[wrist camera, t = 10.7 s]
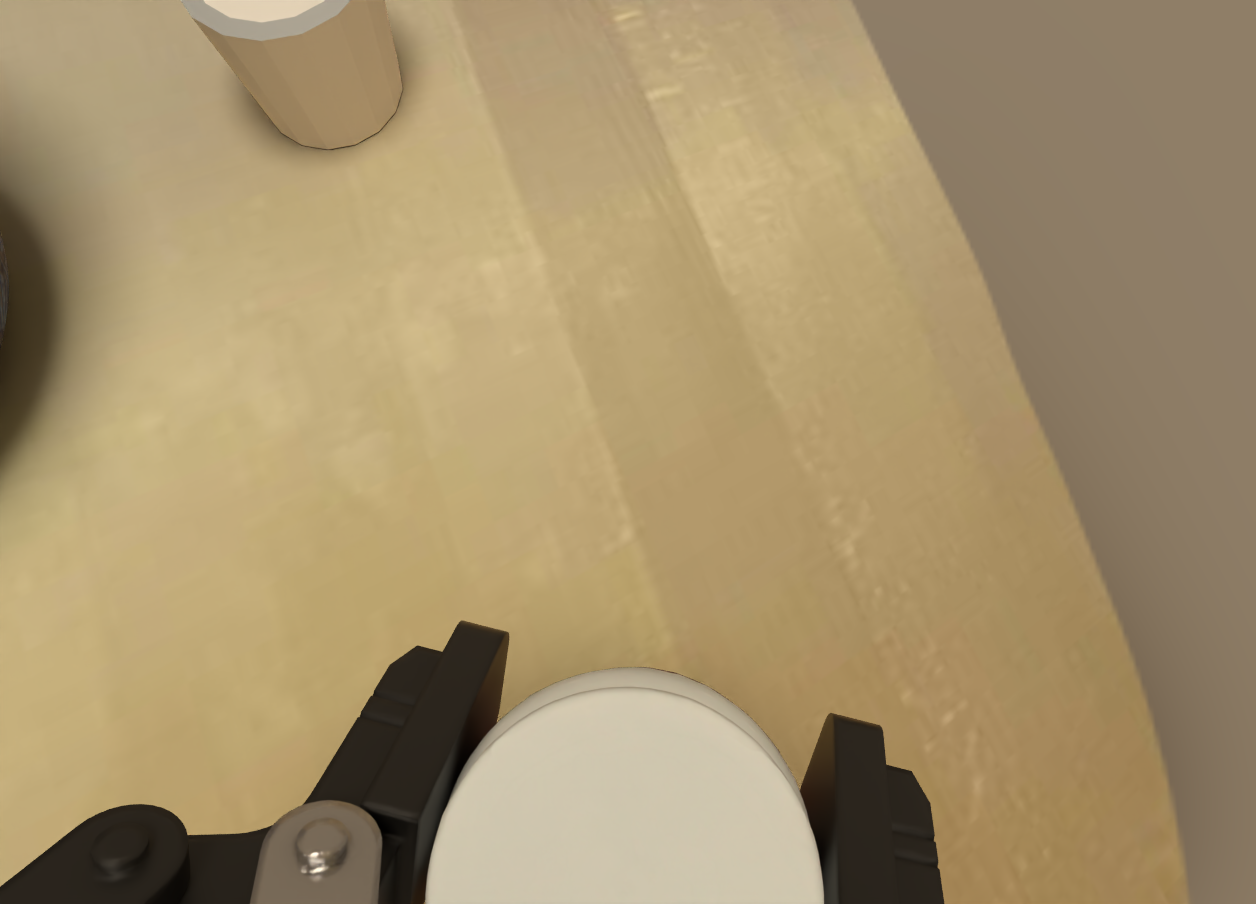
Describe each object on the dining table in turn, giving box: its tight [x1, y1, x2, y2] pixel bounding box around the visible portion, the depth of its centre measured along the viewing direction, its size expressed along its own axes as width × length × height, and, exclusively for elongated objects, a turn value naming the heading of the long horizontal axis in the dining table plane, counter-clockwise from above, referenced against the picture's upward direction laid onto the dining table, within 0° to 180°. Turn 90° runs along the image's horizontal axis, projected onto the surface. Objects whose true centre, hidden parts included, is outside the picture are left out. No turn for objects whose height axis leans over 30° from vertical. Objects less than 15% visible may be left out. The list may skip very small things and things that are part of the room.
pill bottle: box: [425, 667, 824, 904], centre depth 13 cm, size 5×5×8 cm
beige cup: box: [181, 0, 403, 150], centre depth 35 cm, size 7×7×7 cm
